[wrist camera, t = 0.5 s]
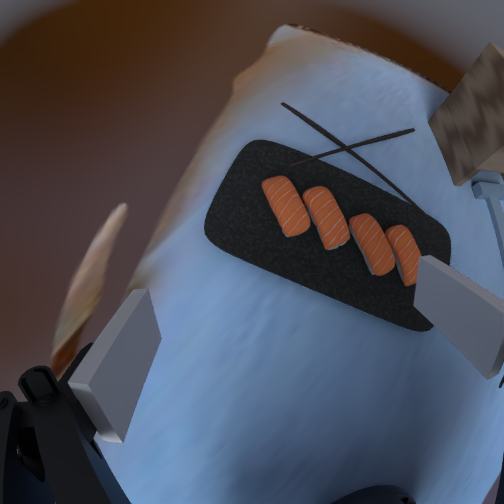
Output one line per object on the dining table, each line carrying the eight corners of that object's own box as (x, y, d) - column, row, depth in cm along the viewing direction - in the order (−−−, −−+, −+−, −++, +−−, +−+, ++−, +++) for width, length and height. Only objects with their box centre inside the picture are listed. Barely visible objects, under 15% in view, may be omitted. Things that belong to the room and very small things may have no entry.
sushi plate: (194, 243, 31) (190, 231, 27) (288, 74, 39) (292, 56, 35) (425, 339, 29) (444, 338, 26) (450, 154, 37) (463, 142, 34)
